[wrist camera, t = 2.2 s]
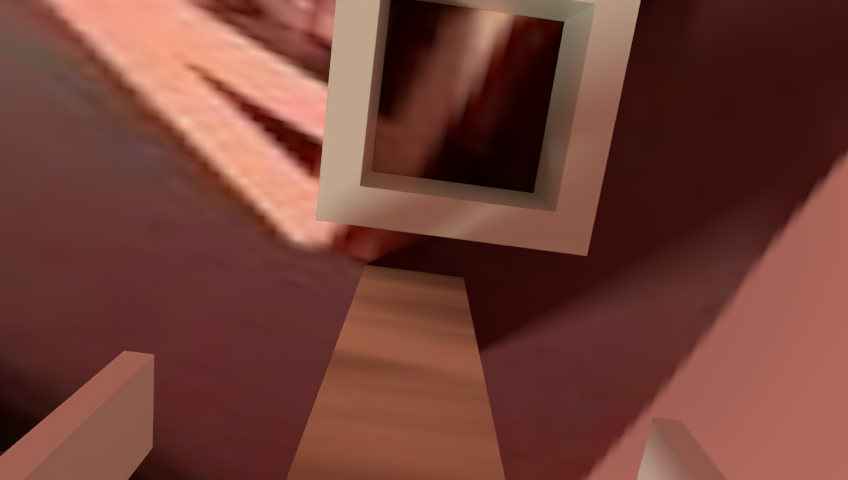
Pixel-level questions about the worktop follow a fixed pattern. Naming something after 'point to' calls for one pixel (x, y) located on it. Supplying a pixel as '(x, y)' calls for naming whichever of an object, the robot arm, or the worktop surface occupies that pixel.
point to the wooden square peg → (402, 388)
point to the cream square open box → (470, 204)
